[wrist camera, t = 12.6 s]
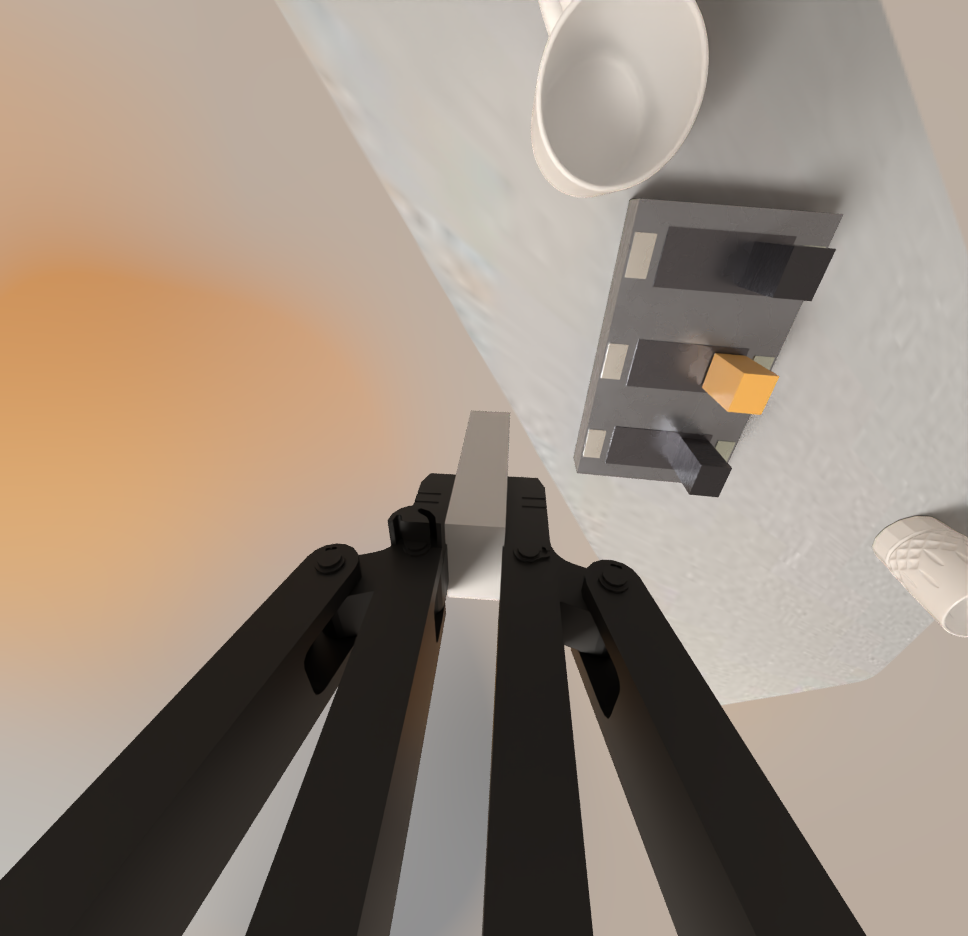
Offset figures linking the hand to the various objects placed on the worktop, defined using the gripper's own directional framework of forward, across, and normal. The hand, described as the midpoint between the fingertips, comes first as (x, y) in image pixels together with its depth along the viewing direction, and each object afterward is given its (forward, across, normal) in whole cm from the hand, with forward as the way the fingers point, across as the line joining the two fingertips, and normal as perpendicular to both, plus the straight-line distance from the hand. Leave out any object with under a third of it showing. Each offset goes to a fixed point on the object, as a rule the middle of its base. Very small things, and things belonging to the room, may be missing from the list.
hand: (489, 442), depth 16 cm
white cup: (+24, +47, -23) cm, 57 cm away
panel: (+23, +16, -3) cm, 28 cm away
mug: (+24, +4, +14) cm, 28 cm away
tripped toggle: (+20, +19, -3) cm, 28 cm away
